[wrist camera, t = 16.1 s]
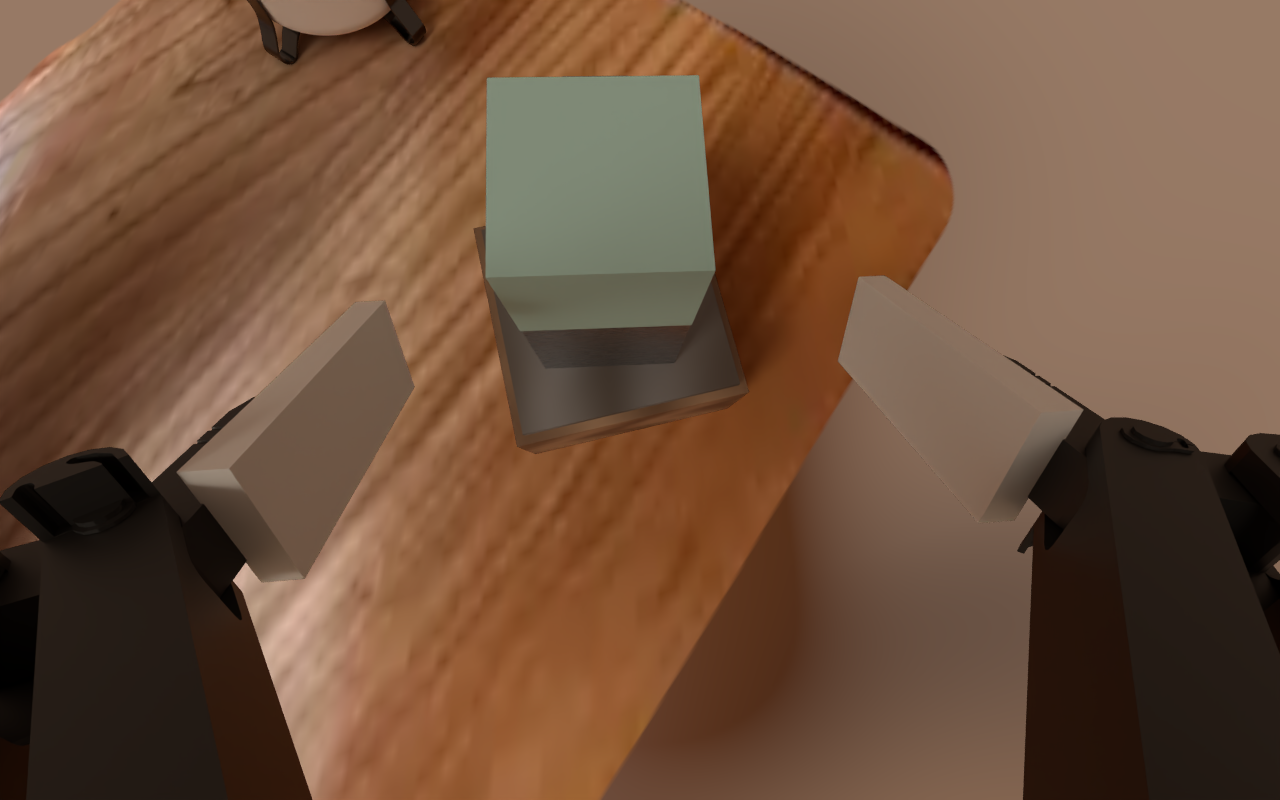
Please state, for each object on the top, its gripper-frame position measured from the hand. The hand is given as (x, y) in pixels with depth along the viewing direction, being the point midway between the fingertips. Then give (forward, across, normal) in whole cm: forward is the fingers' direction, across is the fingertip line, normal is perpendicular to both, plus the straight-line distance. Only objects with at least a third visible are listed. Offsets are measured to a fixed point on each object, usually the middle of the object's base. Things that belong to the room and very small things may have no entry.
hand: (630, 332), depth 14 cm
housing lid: (+8, -1, 0) cm, 8 cm away
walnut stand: (+17, 0, -9) cm, 19 cm away
